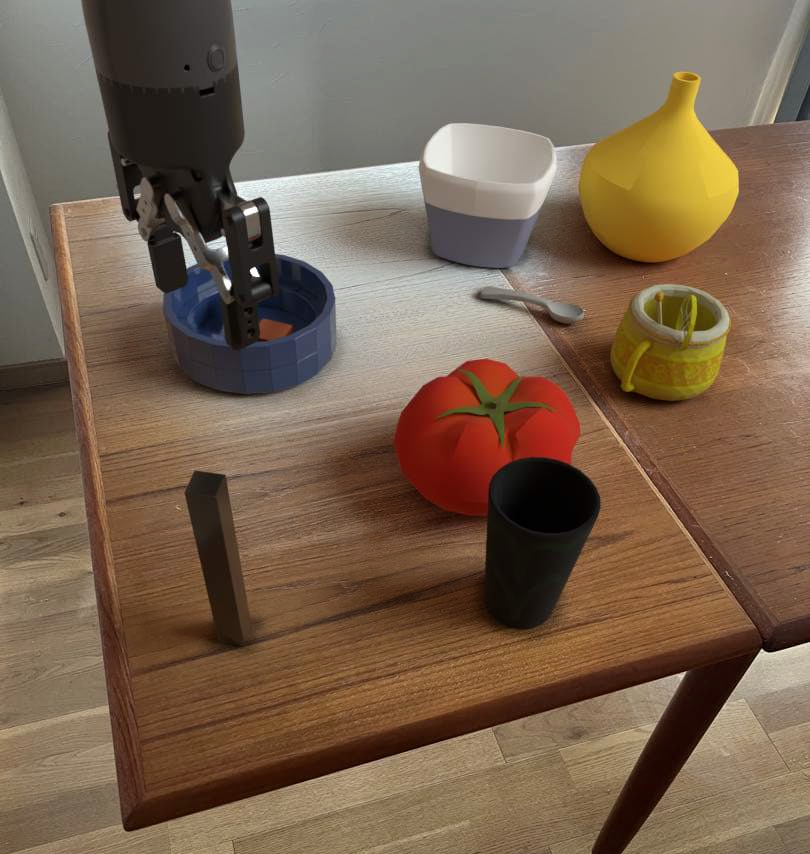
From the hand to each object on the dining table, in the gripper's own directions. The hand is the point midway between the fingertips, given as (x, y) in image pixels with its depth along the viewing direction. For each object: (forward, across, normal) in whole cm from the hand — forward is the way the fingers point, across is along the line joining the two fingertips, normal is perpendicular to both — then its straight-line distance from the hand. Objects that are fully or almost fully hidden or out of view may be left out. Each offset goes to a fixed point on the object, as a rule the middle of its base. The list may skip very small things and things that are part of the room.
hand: (207, 315), depth 56 cm
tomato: (+19, +12, +18) cm, 29 cm away
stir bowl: (+19, -17, +14) cm, 29 cm away
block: (+18, -14, +14) cm, 27 cm away
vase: (+19, -5, +64) cm, 67 cm away
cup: (+19, +23, +11) cm, 32 cm away
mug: (+19, +13, +42) cm, 48 cm away
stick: (+19, +11, -8) cm, 23 cm away
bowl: (+19, -17, +48) cm, 54 cm away
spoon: (+19, -4, +42) cm, 46 cm away
